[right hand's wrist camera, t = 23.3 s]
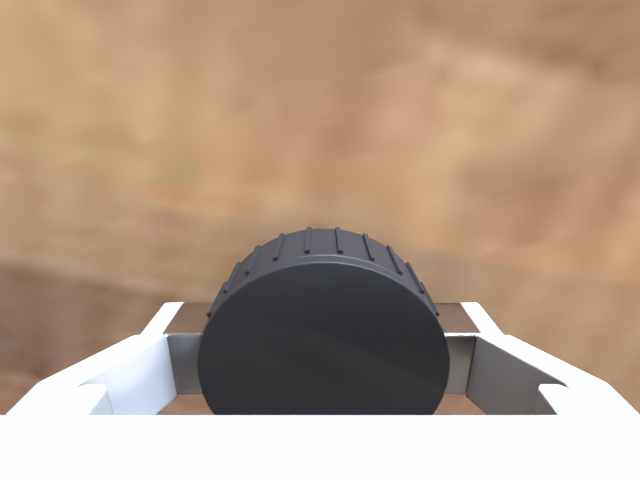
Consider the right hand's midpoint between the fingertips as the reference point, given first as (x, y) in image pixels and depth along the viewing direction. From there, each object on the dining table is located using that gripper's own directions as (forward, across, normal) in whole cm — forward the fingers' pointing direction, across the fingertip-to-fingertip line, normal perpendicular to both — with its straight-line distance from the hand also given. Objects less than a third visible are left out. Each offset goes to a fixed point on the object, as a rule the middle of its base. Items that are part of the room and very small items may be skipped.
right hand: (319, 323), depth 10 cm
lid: (-2, 0, 0) cm, 2 cm away
